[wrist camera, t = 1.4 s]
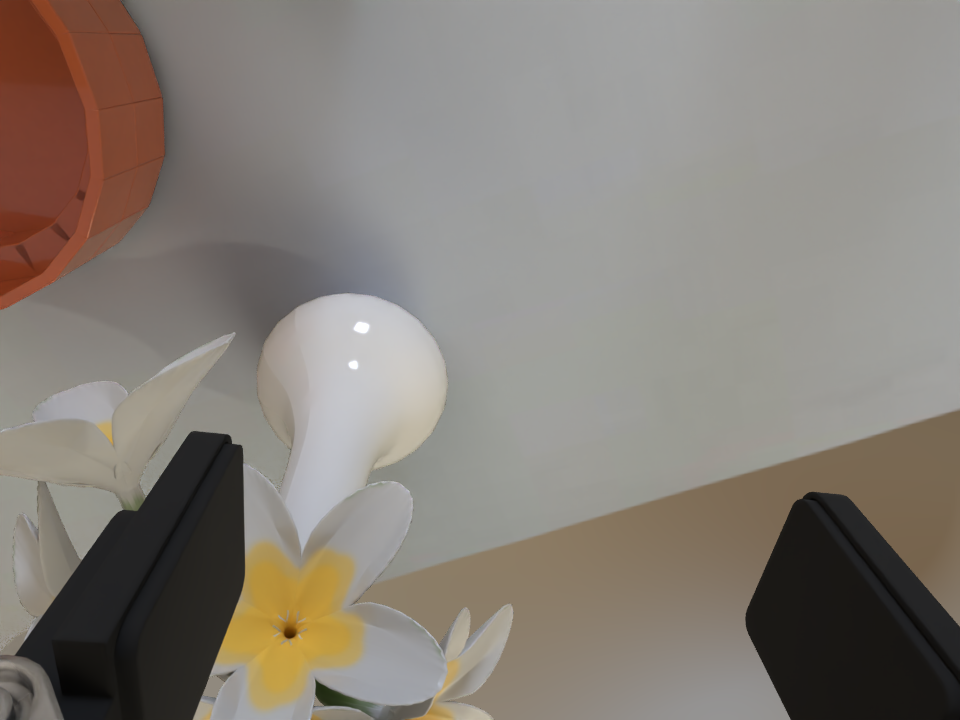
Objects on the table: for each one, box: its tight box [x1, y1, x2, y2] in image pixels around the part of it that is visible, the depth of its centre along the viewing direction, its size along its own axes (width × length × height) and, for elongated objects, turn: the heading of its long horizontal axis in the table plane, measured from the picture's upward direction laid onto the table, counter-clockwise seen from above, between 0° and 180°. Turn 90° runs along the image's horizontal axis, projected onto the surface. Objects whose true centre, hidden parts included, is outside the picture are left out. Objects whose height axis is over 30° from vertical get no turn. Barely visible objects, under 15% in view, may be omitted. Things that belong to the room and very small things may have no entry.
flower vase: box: [0, 293, 514, 720], centre depth 24 cm, size 13×18×25 cm
